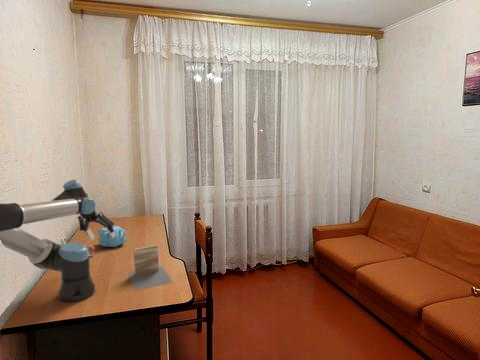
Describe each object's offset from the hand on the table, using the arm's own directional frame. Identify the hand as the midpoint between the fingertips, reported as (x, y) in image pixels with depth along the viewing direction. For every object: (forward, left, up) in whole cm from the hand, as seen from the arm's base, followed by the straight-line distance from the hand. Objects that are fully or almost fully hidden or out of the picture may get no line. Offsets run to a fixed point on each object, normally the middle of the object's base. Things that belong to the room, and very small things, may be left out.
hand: (103, 237), depth 174 cm
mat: (-5, -32, -17) cm, 37 cm away
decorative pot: (+31, +21, -17) cm, 41 cm away
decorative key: (+6, +26, -17) cm, 32 cm away
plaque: (0, -27, -16) cm, 32 cm away
